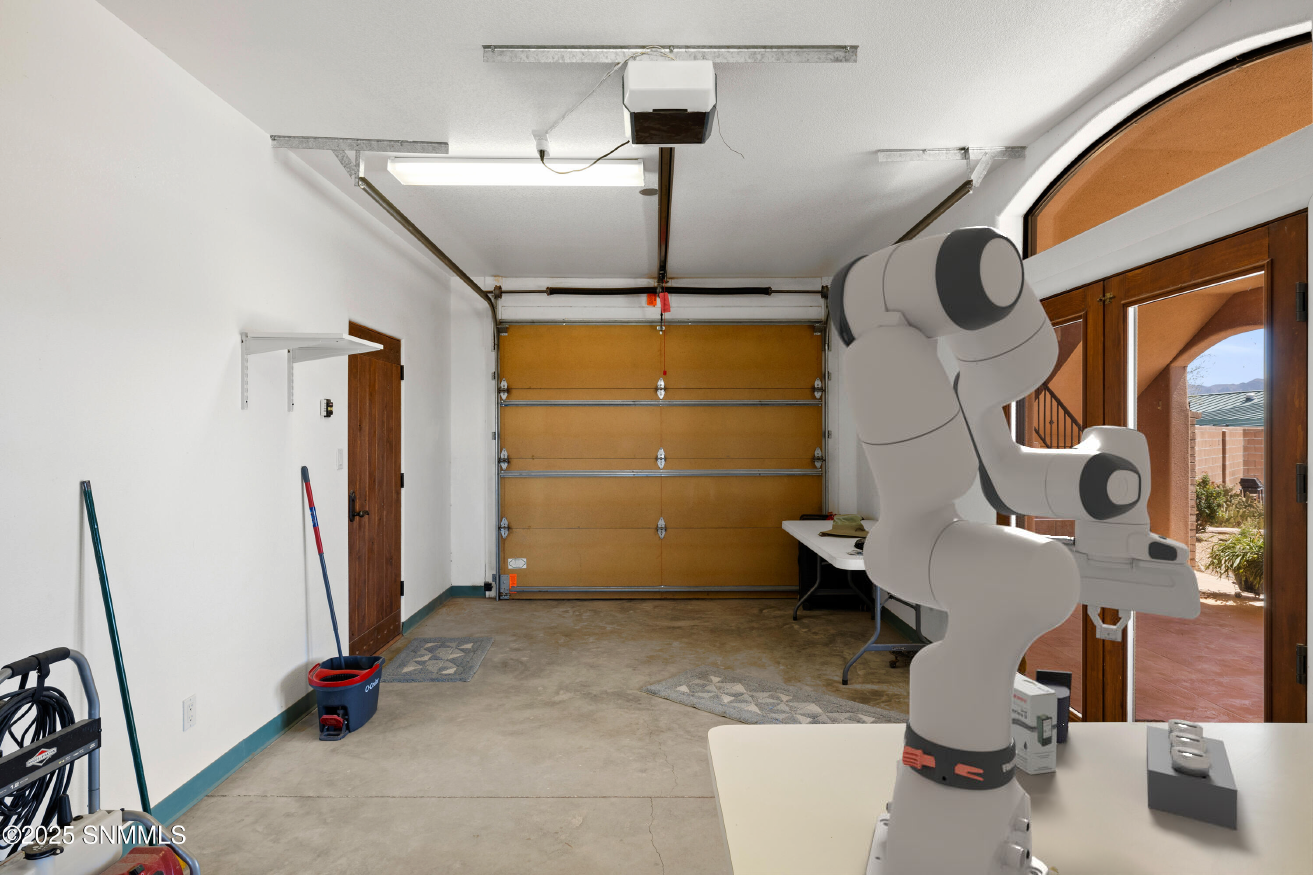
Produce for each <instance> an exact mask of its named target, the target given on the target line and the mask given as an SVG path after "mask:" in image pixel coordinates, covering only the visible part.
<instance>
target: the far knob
mask: <svg viewBox="0 0 1313 875" xmlns="http://www.w3.org/2000/svg"><path fill="white" fill-rule="evenodd" d="M1167 723H1168V724H1167V730H1168V736H1169V737H1170V734H1171V733H1174V732H1179V733H1186V734H1191V735H1194V736H1197V737H1200V738H1202V739H1203V737H1204V728H1203V726H1202V725H1200V724H1198V723H1195V722H1193V721H1188V720H1183V719H1179V718H1178V719H1175V718H1174V719H1172V718H1171V719H1169V720H1168V721H1167Z"/></svg>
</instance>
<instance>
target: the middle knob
mask: <svg viewBox="0 0 1313 875" xmlns="http://www.w3.org/2000/svg"><path fill="white" fill-rule="evenodd" d="M1173 747H1187V748H1191V749H1195V750H1198V751H1201V752H1203V753H1205V754H1206V741H1205V740H1203V739H1202V738H1200V737H1197V736H1194V735H1191V734H1186V733H1179V732H1174V733H1171V734H1170V751H1171V749H1172V748H1173ZM1175 772H1178V770H1175Z"/></svg>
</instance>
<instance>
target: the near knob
mask: <svg viewBox="0 0 1313 875" xmlns="http://www.w3.org/2000/svg"><path fill="white" fill-rule="evenodd" d="M1171 765H1172V767H1173V768H1175V769H1176V770H1178V772H1179V773H1184V774H1188V775H1192V776H1197V777H1201V778H1203V777H1204V776H1208V775H1209V769H1210V758H1209V756H1208V755H1207V754H1205V753H1203V752H1201V751H1198V750H1195V749H1191V748H1187V747H1173V748H1172V749H1171ZM1176 770H1175V771H1176Z"/></svg>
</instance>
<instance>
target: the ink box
mask: <svg viewBox="0 0 1313 875" xmlns="http://www.w3.org/2000/svg"><path fill="white" fill-rule="evenodd" d="M1012 736H1013V738H1014V739H1015V744H1016V751H1017V762H1016V768H1017V767H1018V768H1019V769H1020V770H1022V771H1024V772H1025V773H1027V774H1028V775H1038V774H1039V775H1040V774H1045V773H1051V772H1056V770H1057V744H1056V737H1057V693H1056V692H1055V691H1054V690H1052V689H1050V688H1048V687H1046V686H1044V685H1042V684H1039V683H1037V682H1035V680H1033V679H1031V678H1029V677H1027V676H1025V675H1022V674H1021V673H1017V672H1016V677H1015V682H1014V693H1013V707H1012Z"/></svg>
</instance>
